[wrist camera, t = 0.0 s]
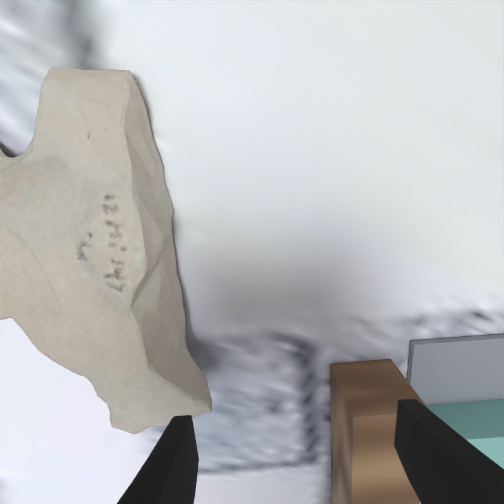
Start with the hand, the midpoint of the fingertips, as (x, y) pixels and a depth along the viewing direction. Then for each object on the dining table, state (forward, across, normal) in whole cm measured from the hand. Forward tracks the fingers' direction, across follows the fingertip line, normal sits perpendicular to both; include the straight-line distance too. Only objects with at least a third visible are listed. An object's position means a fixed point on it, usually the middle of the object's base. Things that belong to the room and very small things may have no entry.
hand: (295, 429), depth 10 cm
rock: (+11, +12, -4) cm, 16 cm away
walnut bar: (+10, -6, +13) cm, 18 cm away
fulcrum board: (+10, -14, +11) cm, 20 cm away
